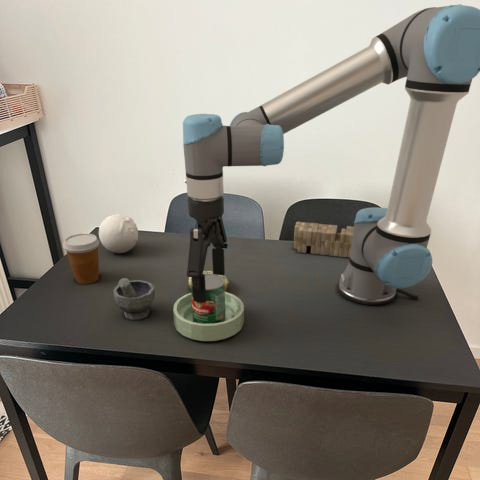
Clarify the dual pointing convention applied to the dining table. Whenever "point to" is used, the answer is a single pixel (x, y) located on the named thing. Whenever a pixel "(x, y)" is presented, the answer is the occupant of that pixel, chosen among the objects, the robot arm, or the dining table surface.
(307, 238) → the block tower
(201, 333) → the bowl
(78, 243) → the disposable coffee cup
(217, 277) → the canned tomato
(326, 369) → the dining table surface
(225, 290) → the decorated donut
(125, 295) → the mortar and pestle
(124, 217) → the decorative ball
